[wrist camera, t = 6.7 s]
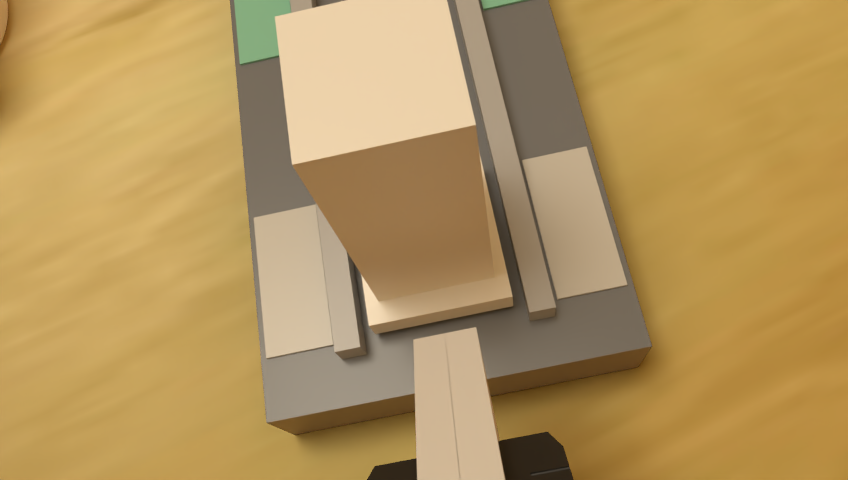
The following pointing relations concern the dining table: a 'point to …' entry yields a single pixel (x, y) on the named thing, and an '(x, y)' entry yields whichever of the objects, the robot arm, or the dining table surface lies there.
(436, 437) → the robot arm
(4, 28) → the mug
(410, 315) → the slider tab
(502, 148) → the switch panel
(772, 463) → the dining table surface
